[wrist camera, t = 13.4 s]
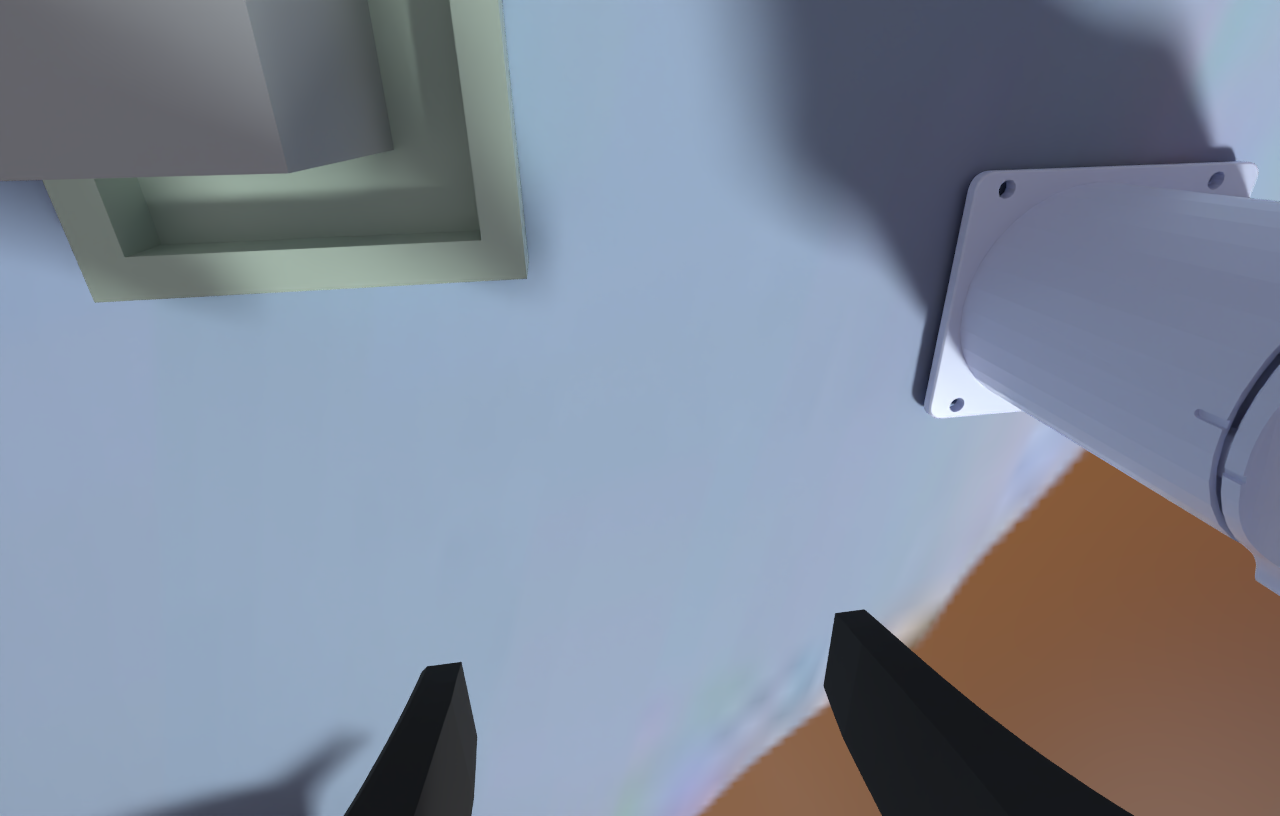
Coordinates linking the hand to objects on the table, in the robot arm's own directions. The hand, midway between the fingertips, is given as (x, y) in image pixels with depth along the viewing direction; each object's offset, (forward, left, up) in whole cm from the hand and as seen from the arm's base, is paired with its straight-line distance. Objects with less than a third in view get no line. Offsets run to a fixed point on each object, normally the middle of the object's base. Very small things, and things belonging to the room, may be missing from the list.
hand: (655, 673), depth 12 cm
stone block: (+7, -11, -9) cm, 16 cm away
